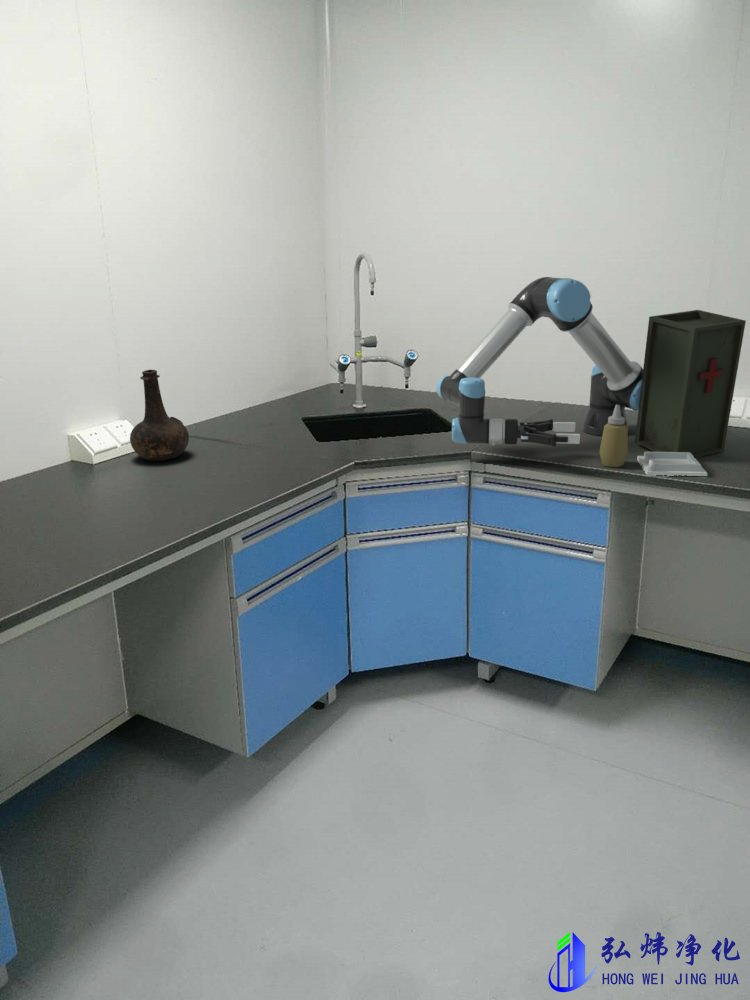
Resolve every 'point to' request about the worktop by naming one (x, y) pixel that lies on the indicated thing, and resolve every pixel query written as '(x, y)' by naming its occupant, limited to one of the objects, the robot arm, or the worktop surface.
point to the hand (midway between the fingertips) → (577, 432)
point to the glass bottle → (157, 426)
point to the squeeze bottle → (614, 440)
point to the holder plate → (670, 464)
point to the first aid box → (688, 382)
